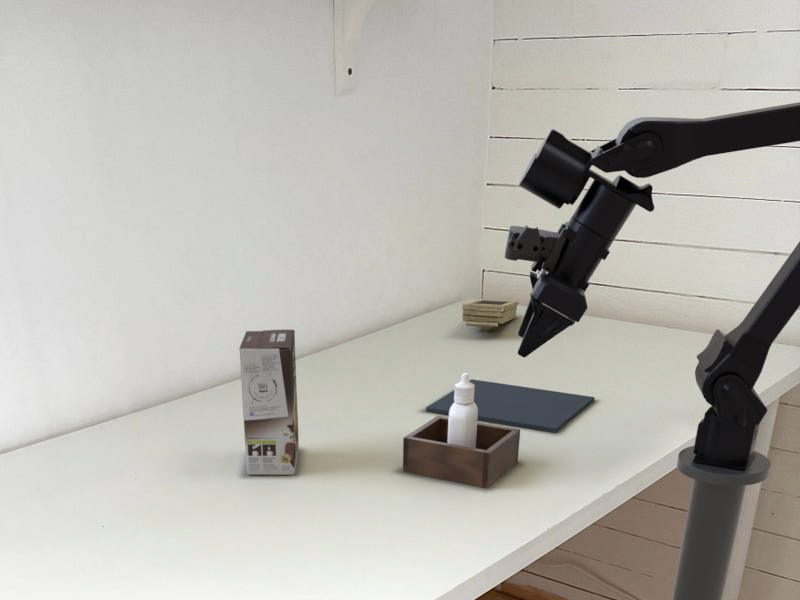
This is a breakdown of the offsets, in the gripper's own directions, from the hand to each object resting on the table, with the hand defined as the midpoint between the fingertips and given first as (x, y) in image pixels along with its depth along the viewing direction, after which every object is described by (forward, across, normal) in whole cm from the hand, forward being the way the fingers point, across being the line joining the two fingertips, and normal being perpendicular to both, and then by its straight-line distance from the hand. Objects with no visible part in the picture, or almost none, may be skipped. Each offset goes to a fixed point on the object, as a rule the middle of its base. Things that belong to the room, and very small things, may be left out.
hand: (520, 345), depth 125 cm
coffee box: (+26, +9, -21) cm, 35 cm away
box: (+14, -66, +2) cm, 67 cm away
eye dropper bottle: (+15, +8, 0) cm, 17 cm away
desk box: (+15, +8, 0) cm, 17 cm away
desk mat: (+12, -18, +6) cm, 22 cm away
